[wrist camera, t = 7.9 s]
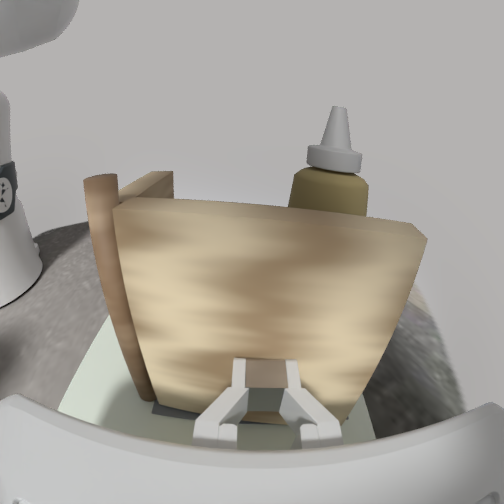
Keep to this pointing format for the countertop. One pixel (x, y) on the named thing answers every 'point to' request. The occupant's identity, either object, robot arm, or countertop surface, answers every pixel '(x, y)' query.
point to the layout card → (163, 417)
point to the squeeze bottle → (332, 173)
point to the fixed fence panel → (149, 186)
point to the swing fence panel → (248, 293)
